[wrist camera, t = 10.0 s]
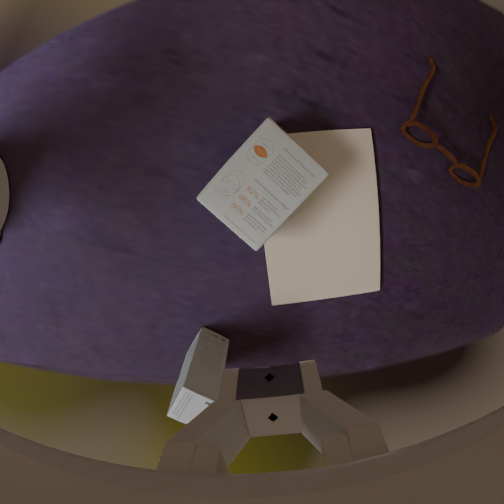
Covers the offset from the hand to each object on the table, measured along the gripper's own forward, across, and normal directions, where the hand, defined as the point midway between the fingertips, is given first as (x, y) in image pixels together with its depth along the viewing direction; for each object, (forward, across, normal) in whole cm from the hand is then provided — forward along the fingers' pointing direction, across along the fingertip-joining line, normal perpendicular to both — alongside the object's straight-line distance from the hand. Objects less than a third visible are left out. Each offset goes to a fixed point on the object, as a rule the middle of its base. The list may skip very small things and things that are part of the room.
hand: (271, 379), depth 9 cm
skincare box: (+27, +10, +16) cm, 33 cm away
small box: (+23, +4, -1) cm, 24 cm away
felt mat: (+26, -7, 0) cm, 27 cm away
